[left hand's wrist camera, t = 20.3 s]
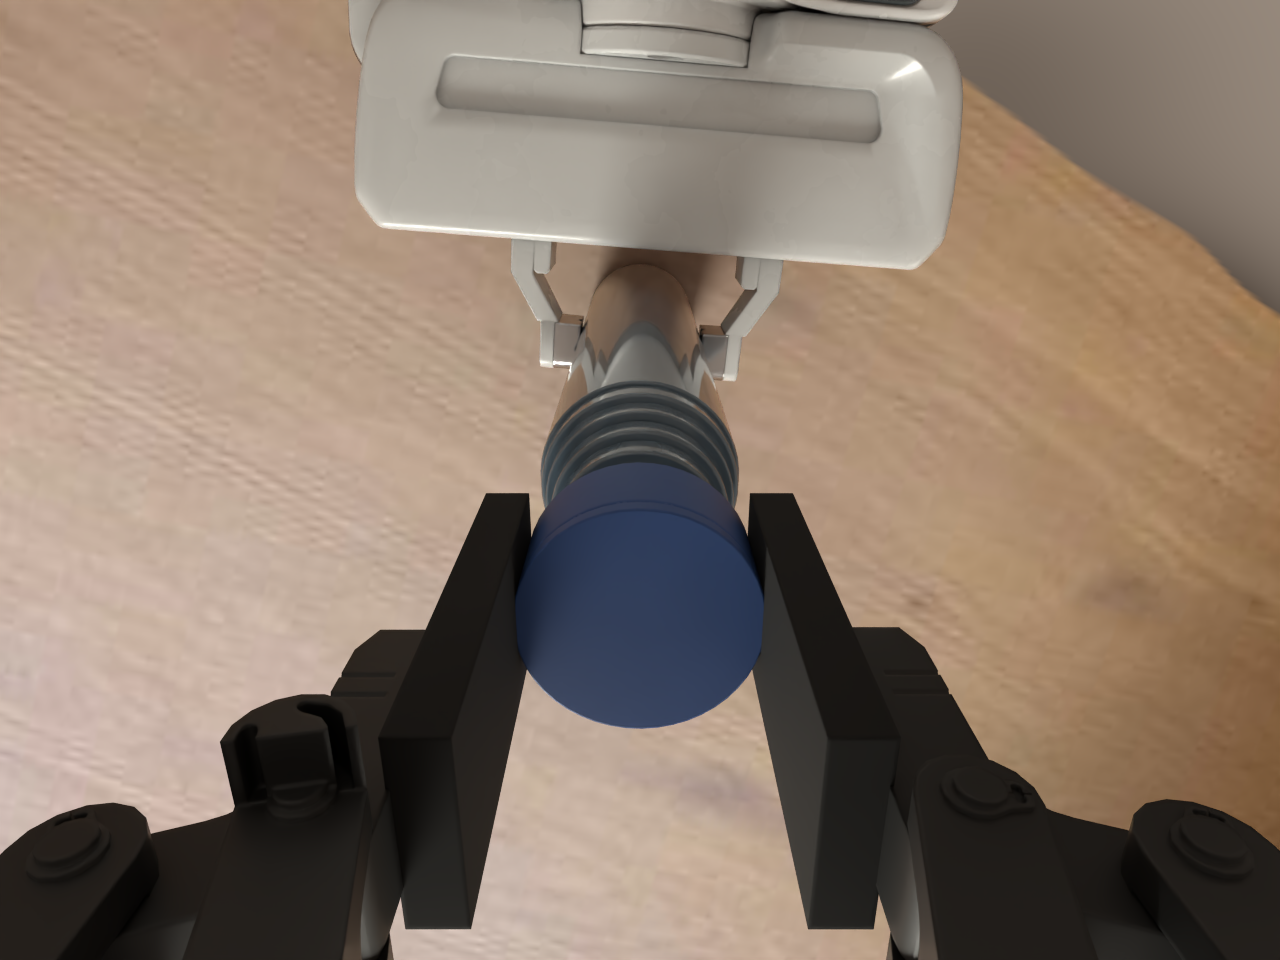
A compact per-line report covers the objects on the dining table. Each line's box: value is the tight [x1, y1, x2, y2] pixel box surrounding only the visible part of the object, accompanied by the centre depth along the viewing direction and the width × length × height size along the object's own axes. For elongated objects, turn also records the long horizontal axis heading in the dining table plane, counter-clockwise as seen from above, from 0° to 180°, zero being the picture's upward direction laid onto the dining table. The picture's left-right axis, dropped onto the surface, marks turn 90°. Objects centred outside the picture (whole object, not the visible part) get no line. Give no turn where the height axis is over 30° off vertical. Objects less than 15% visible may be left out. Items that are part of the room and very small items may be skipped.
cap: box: [515, 462, 764, 729], centre depth 14 cm, size 4×4×2 cm
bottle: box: [541, 264, 739, 509], centre depth 26 cm, size 4×4×26 cm
